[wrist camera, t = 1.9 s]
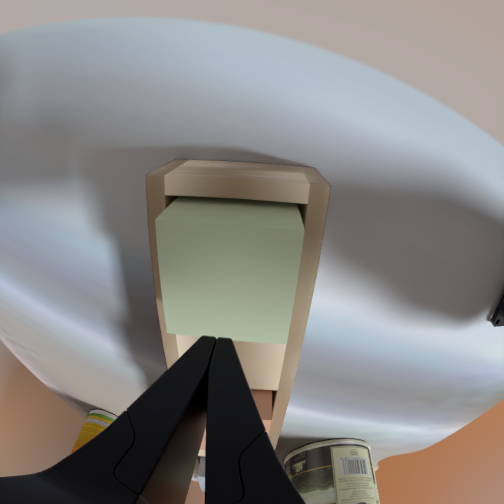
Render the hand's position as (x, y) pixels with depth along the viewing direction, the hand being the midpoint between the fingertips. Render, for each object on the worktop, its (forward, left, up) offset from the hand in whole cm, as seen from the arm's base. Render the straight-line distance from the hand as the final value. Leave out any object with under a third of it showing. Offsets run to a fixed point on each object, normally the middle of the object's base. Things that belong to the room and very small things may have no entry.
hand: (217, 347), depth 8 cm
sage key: (0, 0, -7) cm, 7 cm away
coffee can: (-11, +27, -9) cm, 31 cm away
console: (0, +11, -9) cm, 14 cm away
